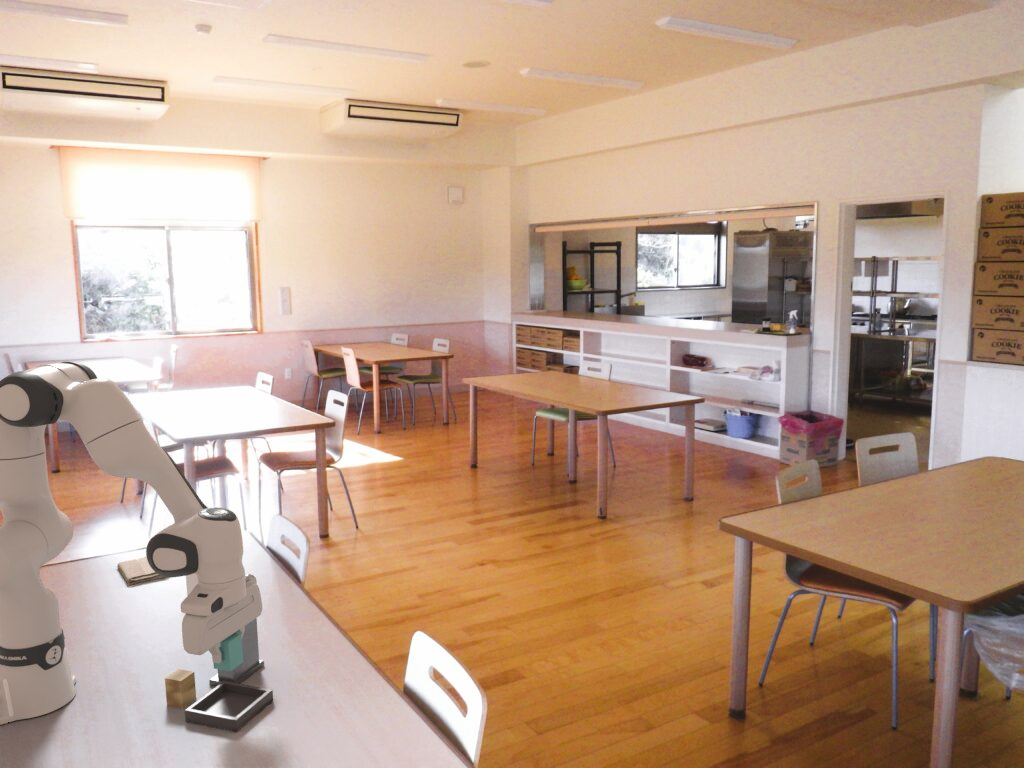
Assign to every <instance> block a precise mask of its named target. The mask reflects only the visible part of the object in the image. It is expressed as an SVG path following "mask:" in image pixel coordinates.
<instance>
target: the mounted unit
mask: <svg viewBox="0 0 1024 768" xmlns="http://www.w3.org/2000/svg"><path fill="white" fill-rule="evenodd" d="M242 651H243V663H241V664H240V665H239V666H237V667H236V668H235V669H233V670H232V671H225V670H219V669H217V673H216V674H215V675H214V676H212V677H211V678H209V681H208V682H209V685H210V686H214V687H216V686H218V685H219V684H221V683H222V682H223V681H227V682H232V683H238V684H243V682H244V681H246V680H247V679H249V678H250V677H251V676H252V675H254V674H255V673H256V672H258V671H259V670H260V669H261V668H262V666H263V665H264V666H265V660H264V659H260V653H259V651H260V650H259V636H258V617H257V618H256V619H254V620H253V621H251V622H250V623H248V624H247V625H245V631H244V634H243V638H242ZM264 666H263V667H264ZM258 669H259V670H258ZM254 672H255V673H254ZM253 673H254V674H253ZM249 676H250V677H249Z"/></svg>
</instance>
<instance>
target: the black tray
mask: <svg viewBox="0 0 1024 768" xmlns="http://www.w3.org/2000/svg"><path fill="white" fill-rule="evenodd" d="M272 701H273V702H274V690H273V689H269V688H265V687H260V686H259V687H258V686H255V685H249V684H243V683H241V684H238V683H232V682H227V681H223V682H222V683H221V684H219V685H218V686H214V688H212V689H211V690H209V691H208V692H207V693H206V694H204V695H203V696H201V697H200V698H198V700H197V701H196V700H195V702H194V703H192V704H191V705H190V706H188V707H187V708H186V709H185V710H184V717H185V718H184V719H185V723H189V724H193V725H194V724H195V725H199V726H204V727H209V728H214V729H219V730H223V731H228V732H229V731H230V732H234V733H238V731H240V730H241V729H242V728H244V727H245V726H246V725H247V724H248V723H249V722H250V721H252V720H253V719H254V718H256V716H258V715H259V713H261V712H262V711H263V710H265V709H266V708H267V707H268V706H269V705H270V704H272V703H273V702H272Z"/></svg>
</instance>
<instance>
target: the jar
mask: <svg viewBox="0 0 1024 768" xmlns="http://www.w3.org/2000/svg"><path fill="white" fill-rule="evenodd" d="M185 581H186V582H185V584H186V597H187V596H188V595H189V594H190V593H191V592H192V590H193V589H194V587H195V586H196V585H197V584H198V577H197V575H196V574H190V575H186V576H185Z"/></svg>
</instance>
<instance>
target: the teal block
mask: <svg viewBox="0 0 1024 768" xmlns="http://www.w3.org/2000/svg"><path fill="white" fill-rule="evenodd" d="M218 648H219V650H220V652H224V657H225V659H224V660H223V661H222V662H220V663H219V664H218V663H214V662H213V661H212V662H213V669H215V670H218V669H219V670H225V671H232V670H233V669H235V668H236V667H237V666H239V665H240V664H241V663H243V651H242V637H241V634H238V633H233V634H232V635H230V636H229V637H227V638H226V639H224V640H223V641H222V642H220V647H218Z"/></svg>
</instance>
